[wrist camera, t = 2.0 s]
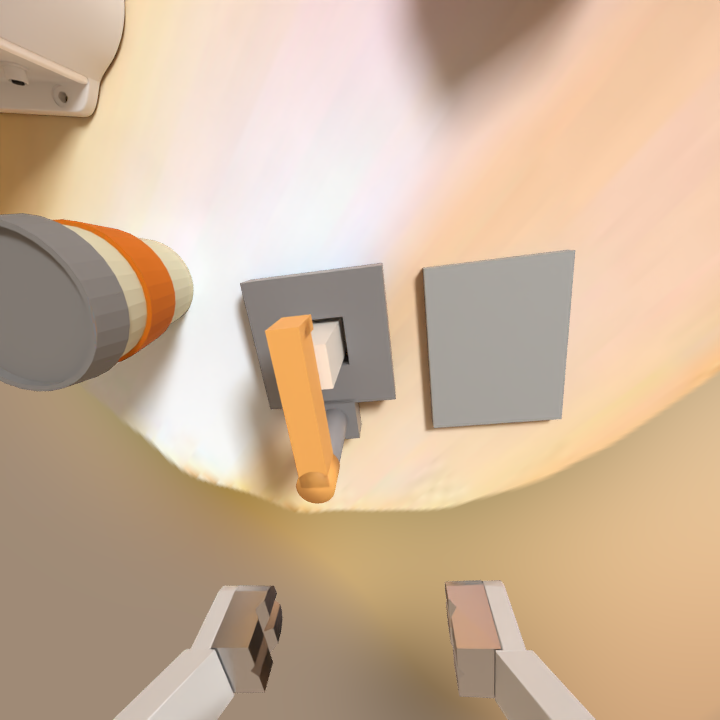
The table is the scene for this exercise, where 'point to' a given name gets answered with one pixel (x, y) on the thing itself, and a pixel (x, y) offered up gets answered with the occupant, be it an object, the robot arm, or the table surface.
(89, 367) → the reusable coffee cup
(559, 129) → the table surface
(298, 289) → the socket
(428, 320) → the pad
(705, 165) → the table surface
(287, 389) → the rounded-end orange bar
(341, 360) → the plug
